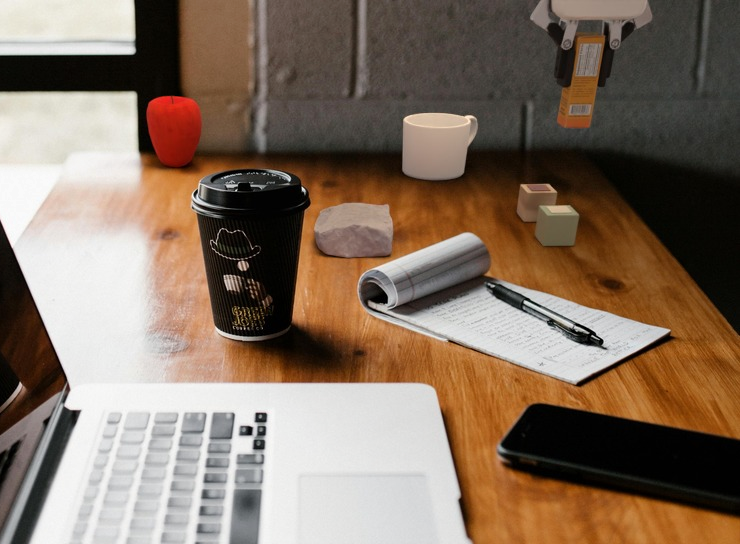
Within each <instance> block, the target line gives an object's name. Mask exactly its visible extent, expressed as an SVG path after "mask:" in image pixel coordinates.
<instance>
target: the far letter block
mask: <svg viewBox="0 0 740 544" xmlns="http://www.w3.org/2000/svg"><path fill="white" fill-rule="evenodd" d="M557 197H558V192H557V190H556V189H554V188H553V187H552V186H551V184H550V183H531V184H530V183H528V184H524V183H521V184H519V192H518V200H517V207H516V214H517V215H518V216H519V218H520V219H521V221H523V223H527V222H528V223H530V222H531V223H532V222H533V223H534V222H536V223H537V217H538V210H539V206H556V203H557Z"/></svg>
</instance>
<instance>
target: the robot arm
mask: <svg viewBox="0 0 740 544" xmlns="http://www.w3.org/2000/svg"><path fill="white" fill-rule="evenodd" d="M549 14H551V15H553V16H557V17H558V18H559V22H558V23H557V22H556V21H555V20H553V19H552V18H550V16H549ZM653 16H654V15H653V13H652V9H651V6H650V3H649V0H540V1H538V4H537V5H536V7H535V8H534V10H533V11H532V13H531V15H530V18H529V19H530V22H532V23H533V24H535V25H536V26H537V27H539V28H540V29H542V30H543V31H545V32H546V34H548V36H549V38H550V39H551V40H552V41H553V43H554V45H555V46H556V47H557V49H556V55H555V61H554V62H555V64H554V70H553V77H554V79H556V84H557V85H559V86H560V87H562V89H563V88H568V87H569V86H571V81H572V74H573V68H574V62H575V56H576V51H575V50H573V41H574V37H575V33H577V29H578V26H579V22H580V21H602V23H601V35H604V36H605V42H604V48H603V54H602V60H601V66H600V72H599V78H598V84H597V88H605V87H606V83H607V79H609V78H610V77H611V73H612V68H613V64H614V63H613V62H614V57H615V51H616V50H618V49H619V48H620V46H621V43H623V42H624V41H625V40H627V38H628V37H629V36H630V35H632V33H634V31H636V30H638V29H640V28H642V27H643V26H645V25H647V24H648V23H651V22H652V20H653Z"/></svg>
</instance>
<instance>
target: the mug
mask: <svg viewBox="0 0 740 544" xmlns="http://www.w3.org/2000/svg"><path fill="white" fill-rule="evenodd" d="M402 121H403V122H402V168H401V170H402V171H401V172H402V173H403V174H404V175H405V176H407V177H410V178H413V179H417V180H424V181H425V180H426V181H447V180H449V181H450V180H453V179H457V178H460V177H461V176H462V175H464V173H465V167H466V160H467V153H468V148H469V146H470V145H471V144H472V142H473V140H474V139H475V137H476V135H477V133H478V126H479V125H478V119H477V118H476V117H475V116H474V115H464V116H463V115H458V114H453V113H444V112H443V113H441V112H427V113H426V112H425V113H414V114H410V115H407V116H405V117H404V118H403V120H402Z"/></svg>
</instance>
